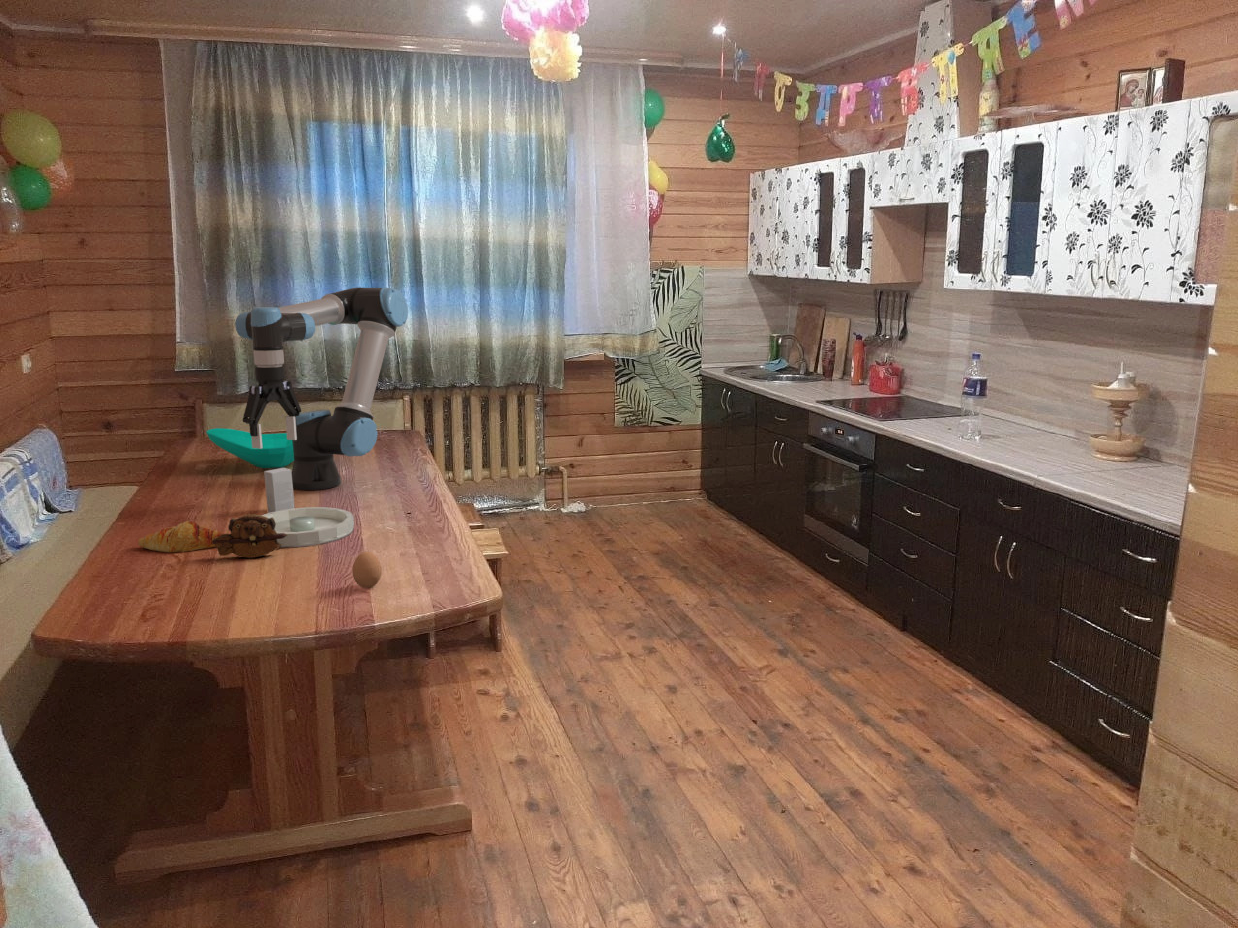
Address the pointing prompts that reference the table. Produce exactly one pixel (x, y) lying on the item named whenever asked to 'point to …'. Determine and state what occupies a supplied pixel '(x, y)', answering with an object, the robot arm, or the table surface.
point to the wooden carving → (249, 537)
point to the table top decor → (240, 444)
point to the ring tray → (322, 522)
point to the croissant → (180, 538)
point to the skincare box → (279, 489)
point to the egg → (366, 570)
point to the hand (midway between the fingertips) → (275, 443)
